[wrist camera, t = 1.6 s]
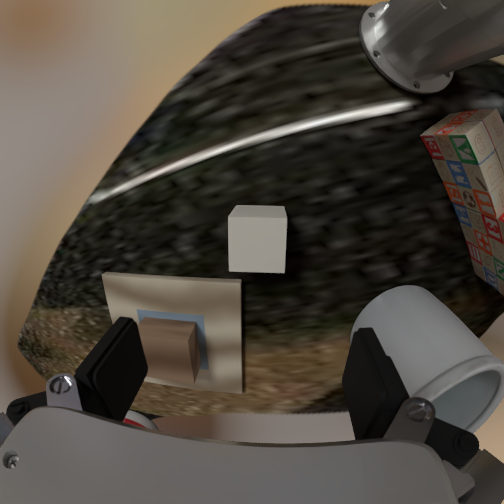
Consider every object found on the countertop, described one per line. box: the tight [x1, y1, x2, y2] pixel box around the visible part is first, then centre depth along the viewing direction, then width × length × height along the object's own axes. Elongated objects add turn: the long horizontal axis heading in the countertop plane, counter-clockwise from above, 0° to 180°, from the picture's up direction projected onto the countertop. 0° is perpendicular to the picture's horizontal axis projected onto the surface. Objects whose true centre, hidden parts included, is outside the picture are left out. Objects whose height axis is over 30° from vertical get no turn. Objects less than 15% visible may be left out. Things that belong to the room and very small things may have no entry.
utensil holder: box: [350, 285, 504, 433], centre depth 25 cm, size 15×15×18 cm
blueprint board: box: [102, 272, 243, 394], centre depth 35 cm, size 18×18×1 cm
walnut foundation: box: [138, 317, 201, 384], centre depth 33 cm, size 7×7×4 cm
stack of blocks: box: [420, 108, 504, 296], centre depth 21 cm, size 21×6×12 cm, turn 38°
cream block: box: [228, 205, 287, 273], centre depth 27 cm, size 5×5×6 cm
